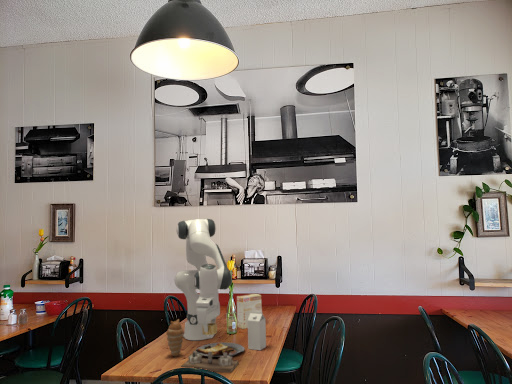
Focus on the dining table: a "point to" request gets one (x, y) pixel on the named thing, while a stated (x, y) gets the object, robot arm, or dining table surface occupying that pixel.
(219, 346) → the food plate
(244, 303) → the coffeecake box
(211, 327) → the brass gear
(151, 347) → the dining table surface
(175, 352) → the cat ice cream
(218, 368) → the gear board
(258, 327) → the milk carton
